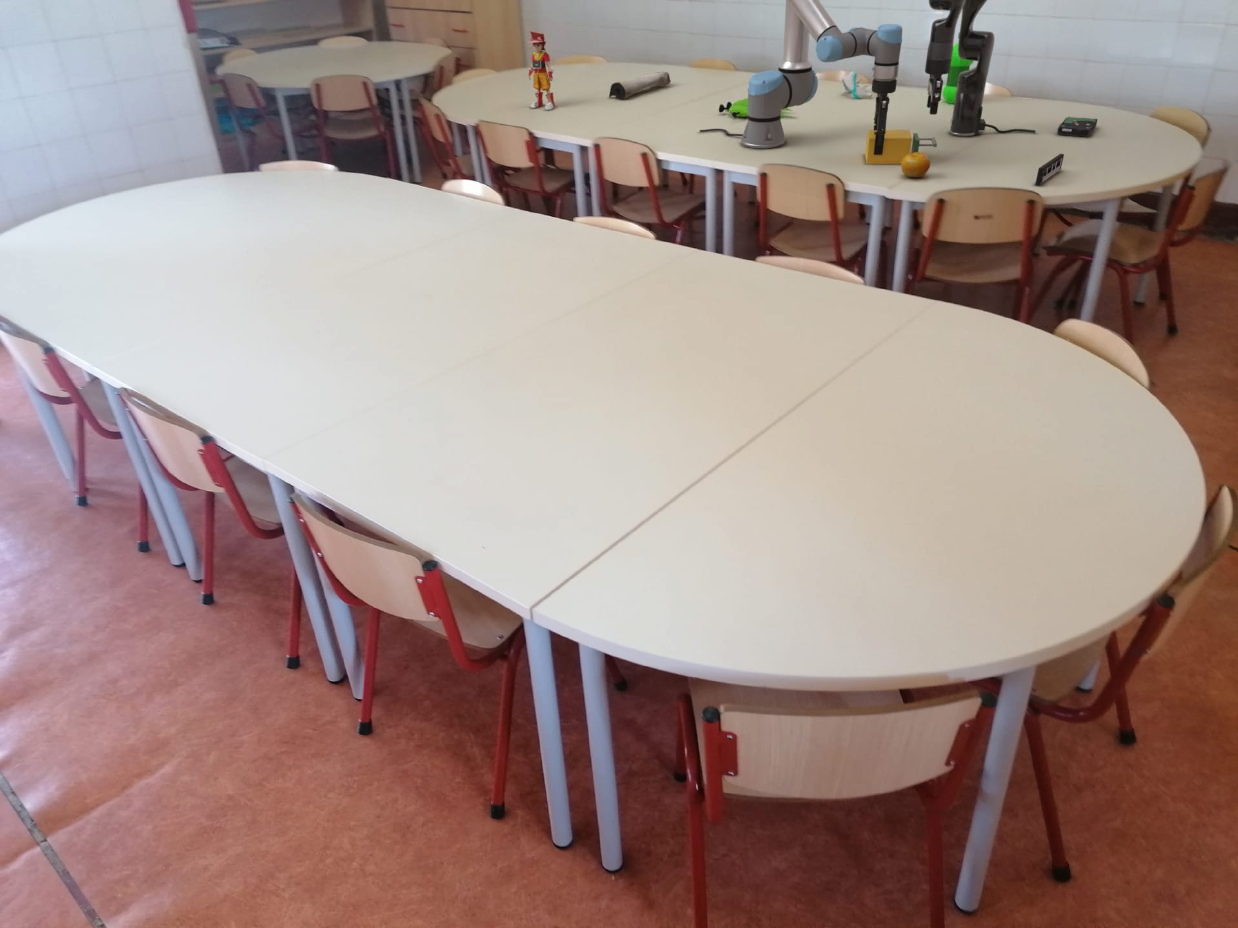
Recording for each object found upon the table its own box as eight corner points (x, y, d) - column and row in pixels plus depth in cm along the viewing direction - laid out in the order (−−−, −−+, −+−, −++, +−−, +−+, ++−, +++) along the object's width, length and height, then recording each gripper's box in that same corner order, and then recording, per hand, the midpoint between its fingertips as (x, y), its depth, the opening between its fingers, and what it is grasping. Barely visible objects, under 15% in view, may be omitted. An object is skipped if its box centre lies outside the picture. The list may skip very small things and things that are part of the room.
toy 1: (525, 109, 381) (517, 32, 364) (534, 104, 388) (527, 28, 371) (550, 110, 377) (543, 32, 360) (559, 105, 384) (553, 28, 367)
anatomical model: (837, 70, 373) (861, 64, 372) (839, 96, 379) (863, 89, 378) (847, 78, 361) (872, 71, 360) (850, 104, 367) (874, 98, 366)
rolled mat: (651, 76, 408) (662, 61, 399) (662, 93, 408) (674, 79, 400) (605, 92, 391) (616, 77, 383) (617, 110, 391) (628, 95, 383)
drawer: (932, 152, 299) (935, 133, 295) (935, 160, 292) (938, 140, 288) (876, 153, 302) (878, 133, 298) (878, 160, 295) (880, 140, 291)
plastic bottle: (973, 101, 354) (984, 32, 339) (955, 106, 349) (966, 36, 335) (952, 97, 361) (962, 29, 346) (934, 102, 356) (944, 33, 342)
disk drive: (1089, 138, 306) (1096, 126, 316) (1091, 129, 305) (1098, 118, 315) (1056, 135, 311) (1064, 124, 321) (1058, 126, 309) (1066, 115, 320)
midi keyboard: (1039, 185, 269) (1043, 168, 266) (1035, 184, 270) (1038, 168, 267) (1060, 170, 279) (1064, 154, 277) (1056, 169, 280) (1060, 153, 277)
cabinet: (906, 155, 301) (909, 130, 297) (908, 164, 293) (912, 138, 289) (865, 155, 304) (867, 130, 299) (866, 164, 296) (869, 138, 291)
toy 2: (709, 116, 351) (780, 128, 338) (711, 102, 348) (782, 114, 336) (739, 105, 371) (807, 117, 359) (741, 92, 368) (809, 103, 356)
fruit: (895, 167, 279) (911, 144, 276) (896, 170, 287) (913, 147, 284) (917, 183, 278) (934, 160, 275) (918, 184, 285) (935, 162, 282)
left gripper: (870, 71, 294) (863, 140, 307) (874, 87, 276) (867, 160, 289) (894, 70, 293) (886, 140, 306) (899, 86, 275) (891, 160, 288)
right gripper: (924, 52, 285) (917, 105, 294) (929, 61, 274) (921, 116, 283) (949, 52, 284) (941, 105, 293) (954, 61, 272) (946, 116, 282)
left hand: (877, 150), depth 297 cm, fingers closed on cabinet, 10 cm apart
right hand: (931, 111), depth 288 cm, fingers open, 8 cm apart
